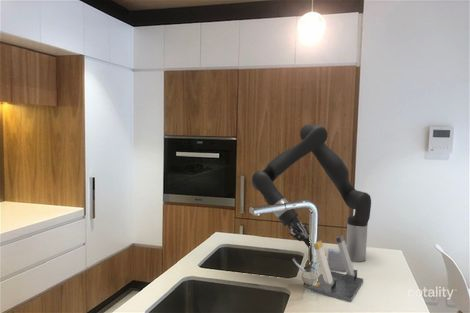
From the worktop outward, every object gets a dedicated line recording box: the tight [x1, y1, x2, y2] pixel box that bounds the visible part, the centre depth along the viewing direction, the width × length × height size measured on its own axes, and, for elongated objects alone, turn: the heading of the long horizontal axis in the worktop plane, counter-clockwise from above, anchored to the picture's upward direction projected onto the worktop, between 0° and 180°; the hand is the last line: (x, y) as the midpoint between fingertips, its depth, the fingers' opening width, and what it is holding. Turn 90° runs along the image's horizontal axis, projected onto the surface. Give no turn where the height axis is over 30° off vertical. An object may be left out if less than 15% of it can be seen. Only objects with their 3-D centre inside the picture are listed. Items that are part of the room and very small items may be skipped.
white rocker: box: [313, 240, 334, 286], centre depth 138 cm, size 5×2×18 cm, turn 148°
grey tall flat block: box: [335, 234, 356, 277], centre depth 147 cm, size 5×2×18 cm, turn 148°
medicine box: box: [327, 247, 346, 272], centre depth 160 cm, size 8×4×9 cm, turn 74°
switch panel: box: [308, 268, 364, 303], centre depth 143 cm, size 20×16×4 cm
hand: (312, 246), depth 140 cm, fingers closed
